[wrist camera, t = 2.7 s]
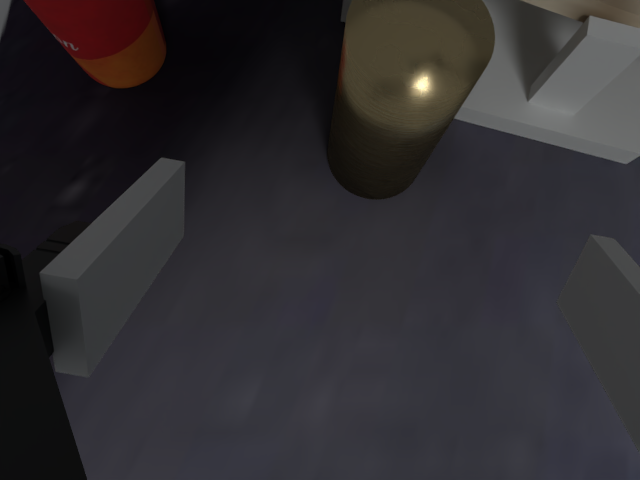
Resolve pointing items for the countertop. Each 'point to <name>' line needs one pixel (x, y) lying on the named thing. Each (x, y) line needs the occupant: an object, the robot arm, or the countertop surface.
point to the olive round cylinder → (402, 87)
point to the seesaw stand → (559, 81)
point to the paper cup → (108, 37)
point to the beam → (594, 9)
